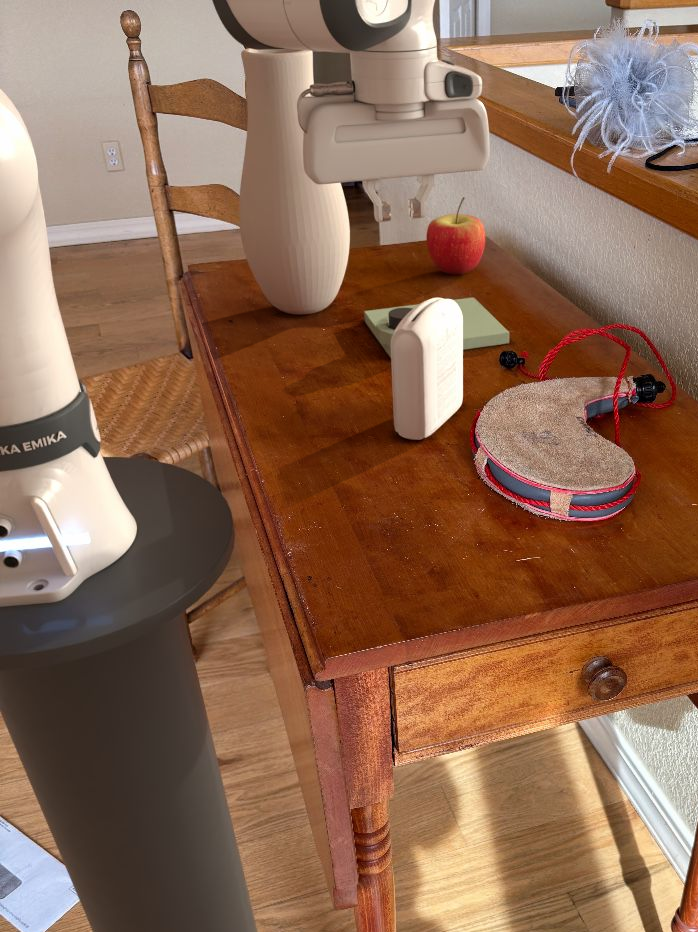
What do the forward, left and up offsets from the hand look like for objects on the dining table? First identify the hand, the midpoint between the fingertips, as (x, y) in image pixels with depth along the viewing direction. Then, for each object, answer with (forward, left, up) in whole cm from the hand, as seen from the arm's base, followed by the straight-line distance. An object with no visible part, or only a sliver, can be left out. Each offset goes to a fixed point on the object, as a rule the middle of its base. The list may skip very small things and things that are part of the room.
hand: (399, 218), depth 104 cm
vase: (-9, +18, -15) cm, 25 cm away
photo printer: (-3, -19, -15) cm, 25 cm away
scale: (+5, +4, -15) cm, 16 cm away
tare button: (0, 0, -13) cm, 13 cm away
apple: (+15, +25, -15) cm, 33 cm away
